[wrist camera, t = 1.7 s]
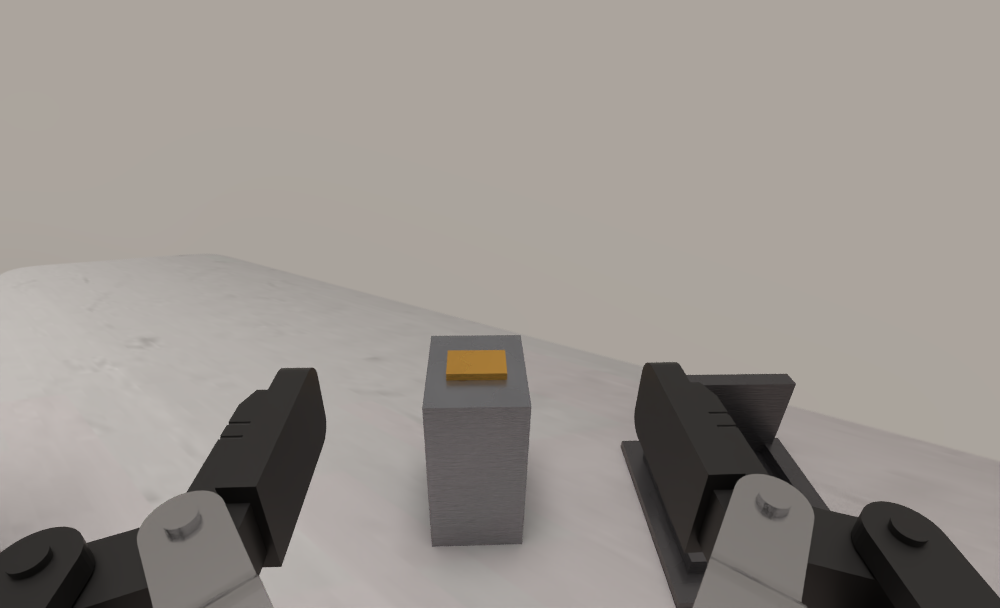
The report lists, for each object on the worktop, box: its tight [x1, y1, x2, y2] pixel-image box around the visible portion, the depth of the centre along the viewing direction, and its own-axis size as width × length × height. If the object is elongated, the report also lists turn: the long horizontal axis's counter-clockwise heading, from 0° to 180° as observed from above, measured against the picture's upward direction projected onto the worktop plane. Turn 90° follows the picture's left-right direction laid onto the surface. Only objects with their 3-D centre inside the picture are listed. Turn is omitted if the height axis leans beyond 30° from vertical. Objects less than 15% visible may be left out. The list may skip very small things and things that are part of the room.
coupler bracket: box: [621, 374, 830, 608], centre depth 29 cm, size 11×11×6 cm
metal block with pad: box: [422, 335, 531, 547], centre depth 28 cm, size 6×5×10 cm
